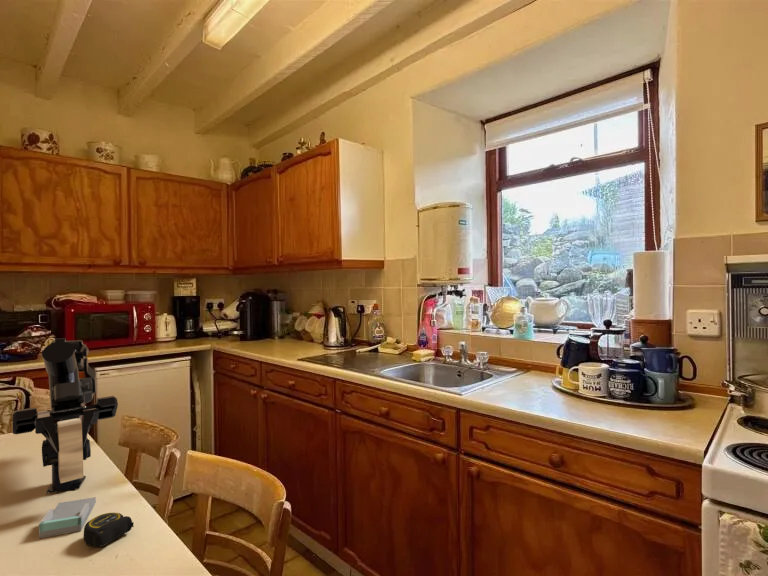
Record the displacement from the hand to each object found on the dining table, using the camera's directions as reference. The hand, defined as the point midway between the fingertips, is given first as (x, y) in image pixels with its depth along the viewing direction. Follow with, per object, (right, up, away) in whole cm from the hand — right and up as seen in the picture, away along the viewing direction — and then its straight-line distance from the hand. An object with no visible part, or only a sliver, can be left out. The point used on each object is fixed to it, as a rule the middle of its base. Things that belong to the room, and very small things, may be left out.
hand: (70, 448), depth 93 cm
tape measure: (+14, -14, -9) cm, 22 cm away
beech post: (-1, -7, +1) cm, 7 cm away
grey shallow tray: (+2, -14, -3) cm, 14 cm away
